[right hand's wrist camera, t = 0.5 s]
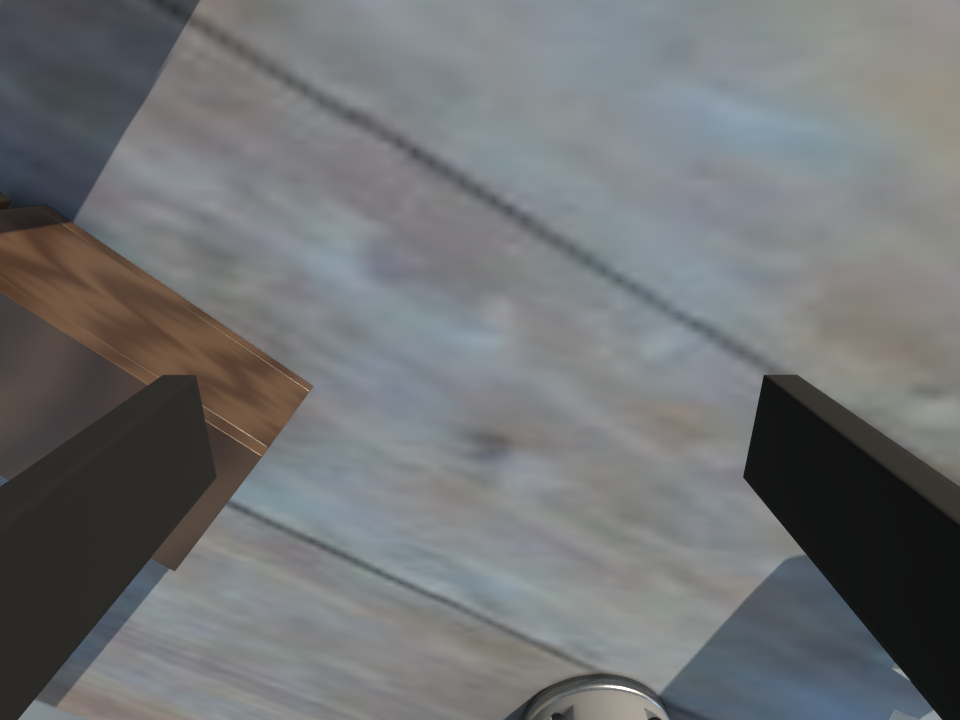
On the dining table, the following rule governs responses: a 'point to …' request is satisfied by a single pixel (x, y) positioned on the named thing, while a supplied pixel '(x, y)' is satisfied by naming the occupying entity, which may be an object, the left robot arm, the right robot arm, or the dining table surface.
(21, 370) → the cabinet
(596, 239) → the dining table surface
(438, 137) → the dining table surface
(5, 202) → the drawer
